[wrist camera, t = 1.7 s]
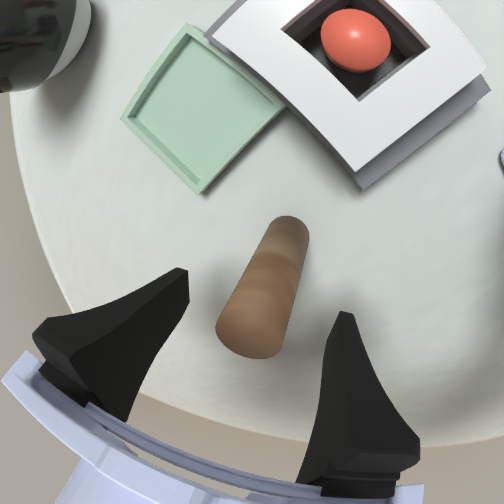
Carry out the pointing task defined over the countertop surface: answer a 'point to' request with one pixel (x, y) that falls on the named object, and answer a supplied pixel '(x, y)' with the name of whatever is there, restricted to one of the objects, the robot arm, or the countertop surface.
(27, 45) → the pump dispenser
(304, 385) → the countertop surface
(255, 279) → the brown wooden cylinder
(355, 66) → the button
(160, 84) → the rest tray
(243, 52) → the box
